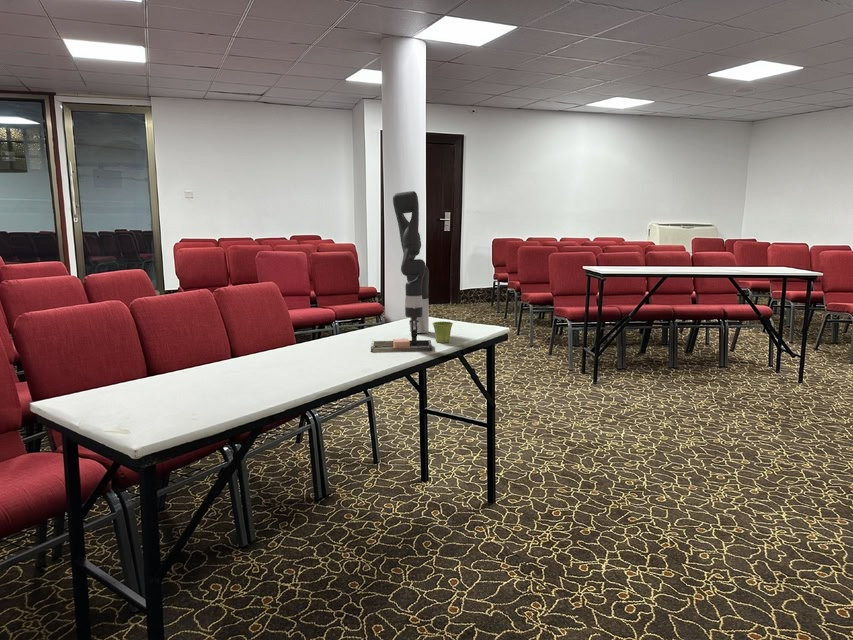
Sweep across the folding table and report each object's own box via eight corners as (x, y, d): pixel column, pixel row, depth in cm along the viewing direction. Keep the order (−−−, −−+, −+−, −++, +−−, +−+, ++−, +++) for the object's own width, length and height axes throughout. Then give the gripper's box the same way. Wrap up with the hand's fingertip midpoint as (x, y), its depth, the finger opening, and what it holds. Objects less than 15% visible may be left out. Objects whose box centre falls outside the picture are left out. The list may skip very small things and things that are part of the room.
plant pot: (453, 343, 264) (453, 324, 263) (432, 343, 264) (432, 324, 263) (452, 339, 274) (452, 321, 272) (432, 339, 274) (432, 321, 272)
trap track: (372, 346, 260) (372, 340, 259) (430, 345, 261) (430, 340, 260) (370, 352, 248) (370, 346, 248) (431, 351, 249) (431, 345, 249)
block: (393, 348, 257) (393, 339, 256) (407, 347, 258) (407, 338, 258) (395, 351, 251) (394, 341, 250) (409, 350, 252) (409, 341, 251)
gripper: (404, 303, 258) (405, 342, 261) (405, 308, 245) (405, 348, 248) (421, 303, 258) (422, 342, 261) (423, 307, 245) (423, 348, 248)
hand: (414, 345), depth 254 cm, fingers closed
